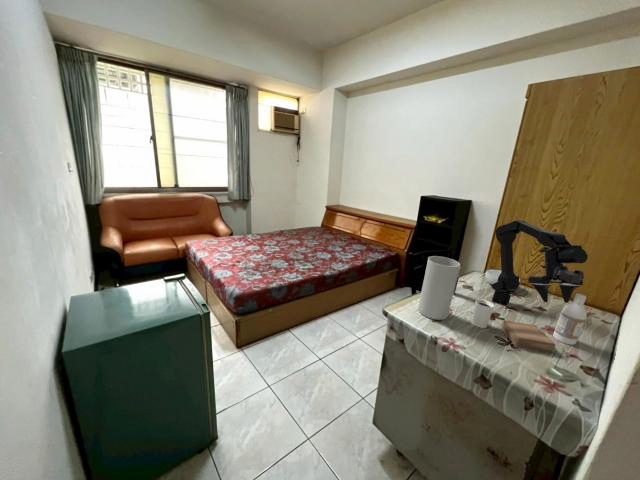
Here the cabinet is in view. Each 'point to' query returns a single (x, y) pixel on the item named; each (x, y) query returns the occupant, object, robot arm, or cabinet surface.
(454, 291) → the container
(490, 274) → the cereal bowl
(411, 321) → the cabinet surface
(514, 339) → the walnut block
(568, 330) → the bath foam
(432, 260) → the cylinder vase
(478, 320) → the white cup
